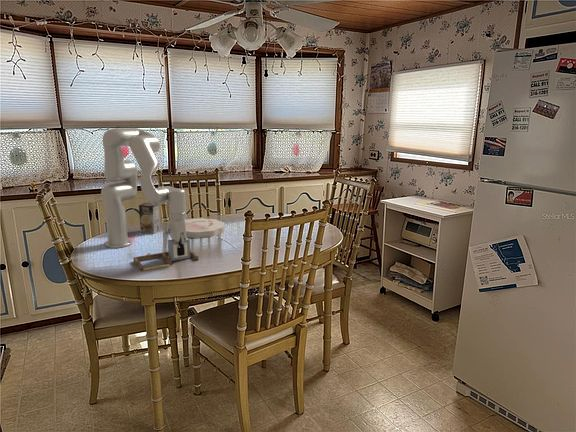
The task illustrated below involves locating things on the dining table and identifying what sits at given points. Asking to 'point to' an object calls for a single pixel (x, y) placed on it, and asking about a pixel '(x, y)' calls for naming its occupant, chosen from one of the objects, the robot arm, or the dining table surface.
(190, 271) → the dining table surface
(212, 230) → the decorative plaque
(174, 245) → the pale gray rectangular prism
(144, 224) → the coffee box
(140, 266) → the frame
